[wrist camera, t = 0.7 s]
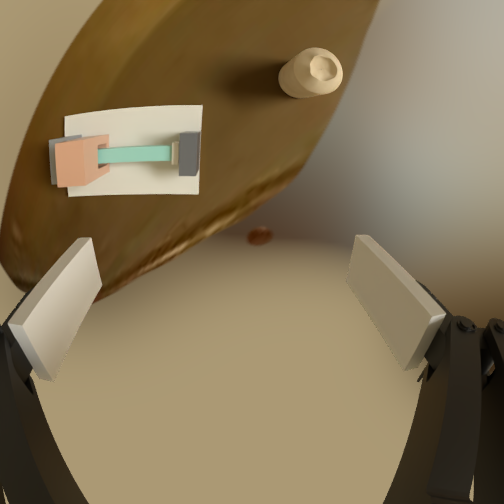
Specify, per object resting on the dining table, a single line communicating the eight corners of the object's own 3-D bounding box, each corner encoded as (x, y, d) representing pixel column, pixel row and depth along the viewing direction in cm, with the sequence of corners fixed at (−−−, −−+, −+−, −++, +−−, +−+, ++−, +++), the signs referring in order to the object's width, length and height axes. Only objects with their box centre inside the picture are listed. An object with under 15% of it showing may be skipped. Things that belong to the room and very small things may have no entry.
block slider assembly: (67, 116, 30) (46, 118, 25) (202, 105, 32) (199, 103, 27) (70, 195, 35) (52, 207, 30) (198, 192, 38) (195, 205, 33)
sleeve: (83, 136, 31) (54, 143, 24) (109, 134, 31) (83, 139, 24) (85, 173, 33) (57, 187, 26) (109, 171, 34) (85, 185, 27)
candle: (287, 104, 33) (310, 99, 25) (271, 68, 31) (288, 52, 22) (323, 91, 33) (355, 85, 24) (307, 56, 30) (335, 39, 22)
